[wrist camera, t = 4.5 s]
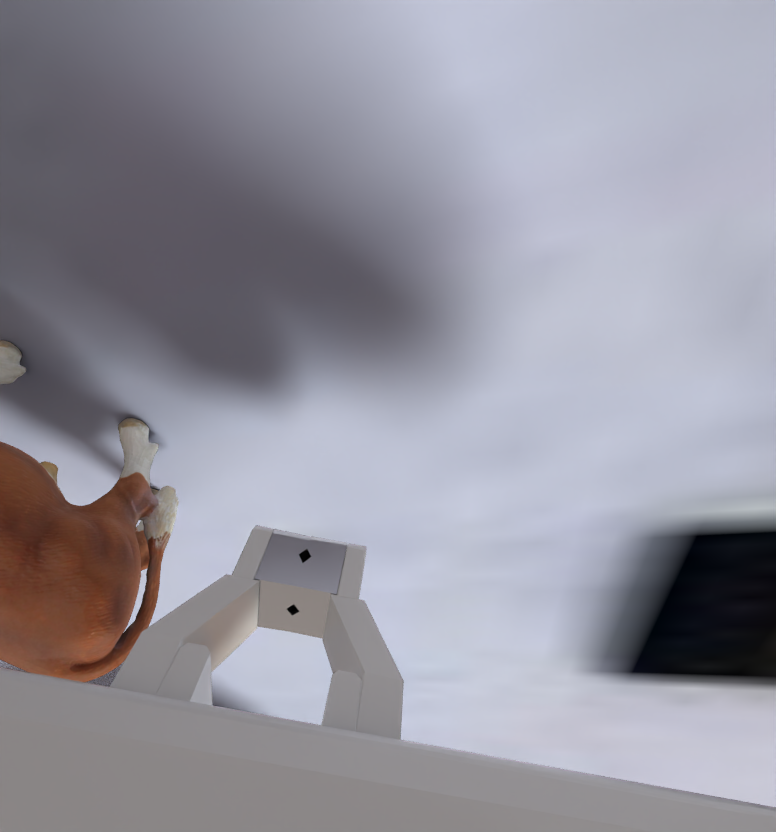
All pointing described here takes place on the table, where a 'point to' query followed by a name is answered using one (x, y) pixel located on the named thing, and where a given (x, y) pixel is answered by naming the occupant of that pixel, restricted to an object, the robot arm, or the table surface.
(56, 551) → the bull figurine
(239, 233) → the table surface
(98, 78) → the table surface
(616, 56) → the table surface
